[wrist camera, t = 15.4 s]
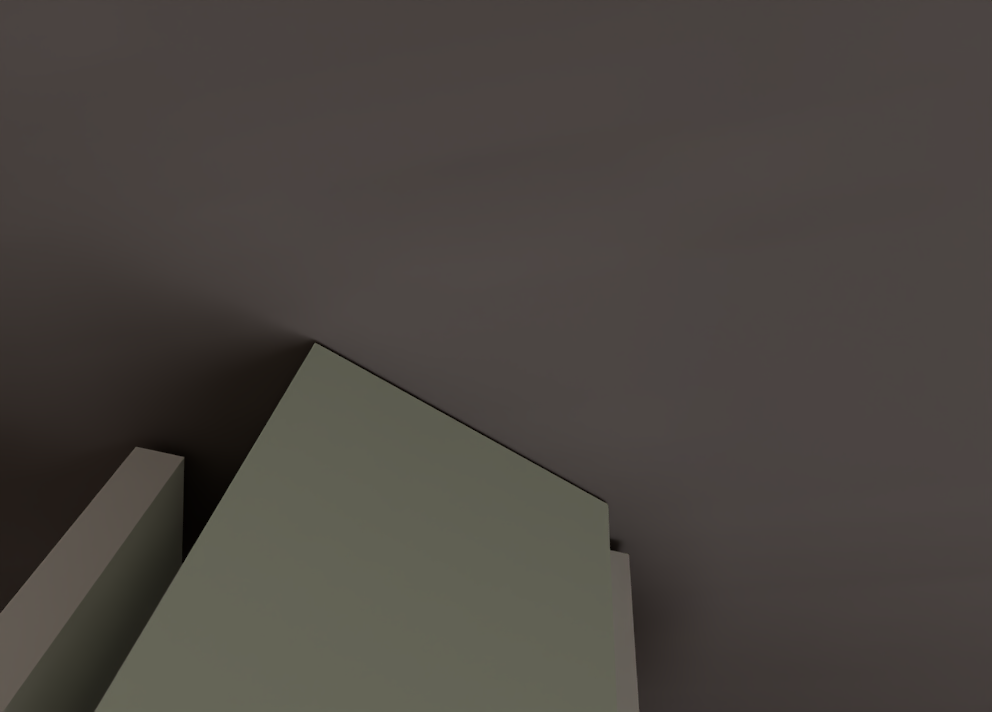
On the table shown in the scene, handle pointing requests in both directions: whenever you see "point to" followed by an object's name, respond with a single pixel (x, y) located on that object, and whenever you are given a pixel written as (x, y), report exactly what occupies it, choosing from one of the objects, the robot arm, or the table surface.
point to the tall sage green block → (382, 572)
